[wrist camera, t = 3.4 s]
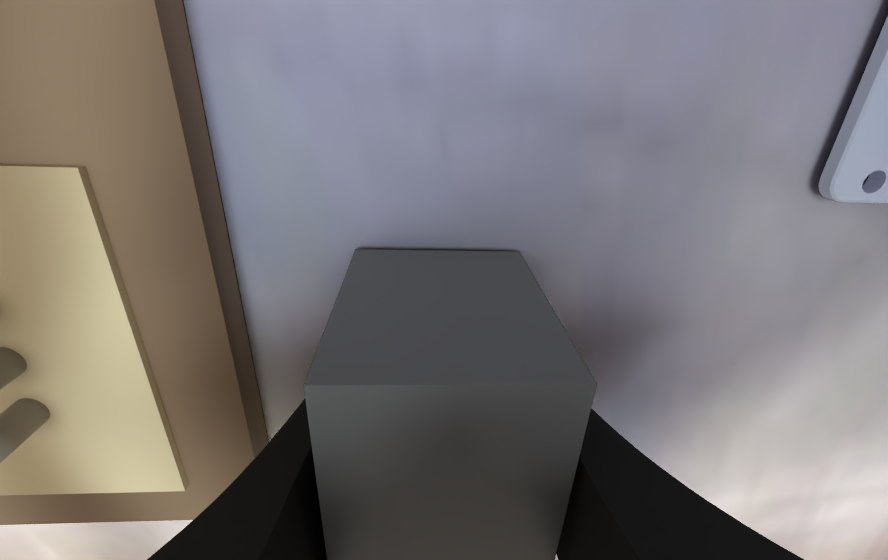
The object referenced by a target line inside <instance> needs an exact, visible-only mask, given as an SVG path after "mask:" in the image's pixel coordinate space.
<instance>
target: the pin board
mask: <svg viewBox="0 0 888 560" xmlns="http://www.w3.org/2000/svg"><path fill="white" fill-rule="evenodd" d="M267 444H268V437H267V432H266V427H265V422H264V417H263V412H262V407H261V402H260V396H259V391H258V386H257V381H256V376H255V371H254V366H253V361H252V355H251V350H250V345H249V340H248V335H247V330H246V325H245V320H244V314H243V309H242V304H241V299H240V294H239V289H238V284H237V279H236V273H235V268H234V263H233V258H232V253H231V248H230V243H229V238H228V232H227V227H226V222H225V217H224V212H223V207H222V202H221V197H220V191H219V186H218V181H217V176H216V171H215V166H214V161H213V156H212V150H211V145H210V140H209V135H208V130H207V125H206V120H205V115H204V109H203V104H202V99H201V94H200V89H199V84H198V79H197V74H196V68H195V63H194V58H193V53H192V48H191V43H190V38H189V33H188V27H187V22H186V17H185V12H184V7H183V2H182V0H0V525H13V524H51V523H88V522H125V521H162V520H194V519H195V518H196V517H197V516H198V515H199V514H201V513H202V512H203V511H204V510H205V509H206V508H207V507H208V506H209V505H210V504H211V503H212V502H213V501H214V500H215V499H216V498H217V497H218V496H219V495H220V494H221V493H222V492H223V491H224V490H225V489H226V488H227V487H228V486H229V485H230V484H231V483H232V482H233V481H234V480H235V479H236V478H237V477H238V476H239V475H240V474H241V473H242V472H243V470H244V469H245V468H246V467H247V466H248V465H249V464H250V463H251V462H252V461H253V460H254V459H255V457H256V456H257V455H258V454H259V453H260V452H261V451H262V450H263V449H264V448H265V446H266V445H267Z"/></svg>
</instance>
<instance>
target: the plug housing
mask: <svg viewBox="0 0 888 560" xmlns="http://www.w3.org/2000/svg"><path fill="white" fill-rule="evenodd" d="M303 386H304V393H305V400H306V408H307V415H308V423H309V430H310V437H311V445H312V452H313V459H314V467H315V474H316V481H317V489H318V496H319V504H320V511H321V518H322V526H323V533H324V540H325V548H326V555H327V560H555V556H556V552H557V548H558V543H559V539H560V535H561V531H562V527H563V523H564V518H565V514H566V510H567V506H568V502H569V498H570V494H571V489H572V485H573V481H574V477H575V473H576V469H577V465H578V460H579V456H580V452H581V448H582V444H583V440H584V435H585V431H586V427H587V423H588V419H589V415H590V411H591V406H592V402H593V398H594V394H595V390H596V386H597V383H596V381H595V380H594V378H593V376H592V375H591V373H590V371H589V369H588V368H587V366H586V364H585V363H584V361H583V359H582V357H581V356H580V354H579V352H578V351H577V349H576V347H575V346H574V344H573V342H572V340H571V339H570V337H569V335H568V334H567V332H566V330H565V329H564V327H563V325H562V323H561V322H560V320H559V318H558V317H557V315H556V313H555V311H554V310H553V308H552V306H551V305H550V303H549V301H548V300H547V298H546V296H545V294H544V293H543V291H542V289H541V288H540V286H539V284H538V283H537V281H536V279H535V277H534V276H533V274H532V272H531V271H530V269H529V267H528V265H527V264H526V262H525V260H524V259H523V257H522V255H521V254H520V252H509V251H439V250H368V249H355V252H354V255H353V257H352V260H351V263H350V265H349V268H348V270H347V273H346V276H345V278H344V281H343V283H342V286H341V289H340V291H339V294H338V297H337V299H336V302H335V304H334V307H333V310H332V312H331V315H330V317H329V320H328V323H327V325H326V328H325V331H324V333H323V336H322V338H321V341H320V344H319V346H318V349H317V351H316V354H315V357H314V359H313V362H312V365H311V367H310V370H309V372H308V375H307V378H306V380H305V383H304V385H303Z"/></svg>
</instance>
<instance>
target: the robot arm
mask: <svg viewBox="0 0 888 560" xmlns="http://www.w3.org/2000/svg"><path fill="white" fill-rule="evenodd" d="M868 175H869V178H868V180H867V181H866V183H865V184H864V185H863V181H864V180H865V179H866V177H867V176H868ZM862 185H863V186H862ZM818 187H819V191H820V194H821V195H822V196H823V197H825V198H828V199H832V200H835V201H839V202H850V203H888V16H887V18H886V21H885V23H884V26H883V28H882V30H881V33H880V35H879V38H878V40H877V42H876V45H875V47H874V50H873V52H872V54H871V57H870V59H869V62H868V64H867V67H866V69H865V71H864V74H863V76H862V79H861V81H860V83H859V86H858V88H857V91H856V93H855V95H854V98H853V100H852V103H851V105H850V107H849V110H848V112H847V115H846V117H845V119H844V122H843V124H842V127H841V129H840V131H839V134H838V136H837V139H836V141H835V143H834V146H833V148H832V151H831V153H830V156H829V158H828V160H827V163H826V165H825V168H824V170H823V172H822V175H821V177H820V181H819V185H818ZM556 554H557V557H558V560H804V559H802V558H800V557H799V556H797V555H795V554H793V553H791V552H790V551H788V550H786V549H784V548H783V547H781V546H779V545H777V544H776V543H774V542H772V541H771V540H769V539H767V538H766V537H764V536H762V535H761V534H759V533H757V532H756V531H754V530H752V529H751V528H749V527H747V526H746V525H744V524H742V523H741V522H739V521H738V520H736V519H735V518H733V517H732V516H730V515H728V514H727V513H725V512H724V511H722V510H721V509H719V508H718V507H716V506H714V505H713V504H711V503H710V502H708V501H707V500H705V499H704V498H702V497H701V496H699V495H698V494H696V493H695V492H694V491H692V490H691V489H689V488H688V487H686V486H685V485H684V484H682V483H681V482H680V481H678V480H677V479H675V478H674V477H673V476H671V475H670V474H669V473H667V472H666V471H665V470H663V469H662V468H660V467H659V466H658V465H656V464H655V463H654V462H653V461H651V460H650V459H649V458H647V457H646V456H645V455H644V454H642V453H641V452H640V451H639V450H638V449H636V448H635V447H634V446H633V445H632V444H630V443H629V442H628V441H627V440H626V439H625V438H623V437H622V436H621V435H620V434H619V433H618V432H617V431H615V430H614V429H613V428H612V427H611V426H610V425H609V424H608V423H607V422H605V421H604V420H603V419H602V418H601V417H600V416H599V415H598V414H597V413H596V412H595V411H594V410H593V409H592V408H591V411H590V415H589V419H588V423H587V427H586V431H585V435H584V440H583V444H582V448H581V452H580V456H579V460H578V465H577V469H576V473H575V477H574V481H573V485H572V489H571V494H570V498H569V502H568V506H567V510H566V514H565V518H564V523H563V527H562V531H561V535H560V539H559V543H558V548H557V552H556ZM147 560H327V555H326V548H325V540H324V533H323V526H322V518H321V511H320V504H319V496H318V489H317V481H316V474H315V467H314V459H313V452H312V445H311V437H310V430H309V423H308V415H307V408H306V400H305V399H304V400H303V402H302V403H301V404H300V405H299V407H298V408H297V409H296V410H295V412H294V413H293V414H292V415H291V417H290V418H289V419H288V420H287V422H286V423H285V424H284V425H283V426H282V428H281V429H280V430H279V431H278V432H277V433H276V435H275V436H274V437H273V438H272V439H271V441H270V442H269V443H268V444H267V445H266V446H265V448H264V449H263V450H262V451H261V452H260V453H259V454H258V455H257V456H256V457H255V459H254V460H253V461H252V462H251V463H250V464H249V465H248V466H247V467H246V468H245V469H244V470H243V472H242V473H241V474H240V475H239V476H238V477H237V478H236V479H235V480H234V481H233V482H232V483H231V484H230V485H229V486H228V487H227V488H226V489H225V490H224V491H223V492H222V493H221V494H220V495H219V496H218V497H217V498H216V499H215V500H214V501H213V502H212V503H211V504H210V505H209V506H208V507H207V508H206V509H205V510H204V511H203V512H202V513H201V514H199V515H198V516H197V517H196V518H195V519H194V520H193V521H192V522H191V523H190V524H189V525H187V526H186V527H185V528H184V529H183V530H182V531H181V532H180V533H178V534H177V535H176V536H175V537H174V538H172V539H171V540H170V541H169V542H168V543H166V544H165V545H164V546H163V547H162V548H160V549H159V550H158V551H157V552H156V553H155V554H153V555H152V556H151V557H150V558H149V559H147Z"/></svg>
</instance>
